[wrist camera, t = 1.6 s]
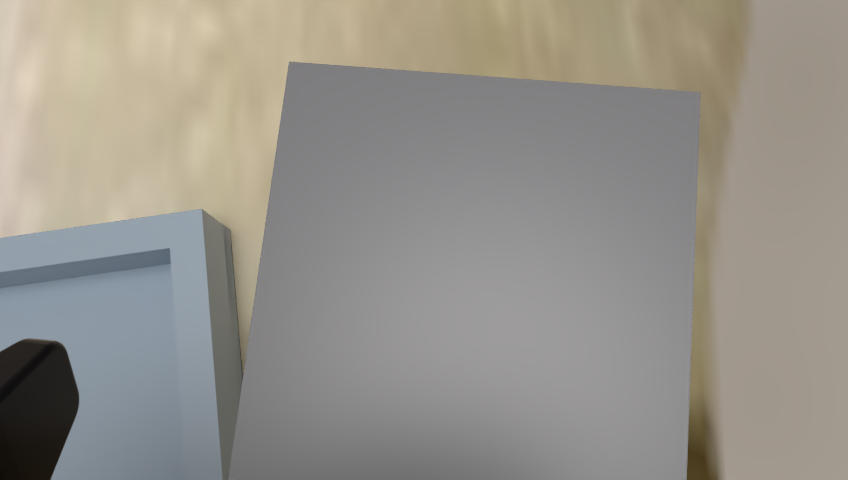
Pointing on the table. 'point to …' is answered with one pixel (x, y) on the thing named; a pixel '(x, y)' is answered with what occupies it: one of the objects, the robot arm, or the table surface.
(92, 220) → the table surface
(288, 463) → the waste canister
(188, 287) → the drip tray
